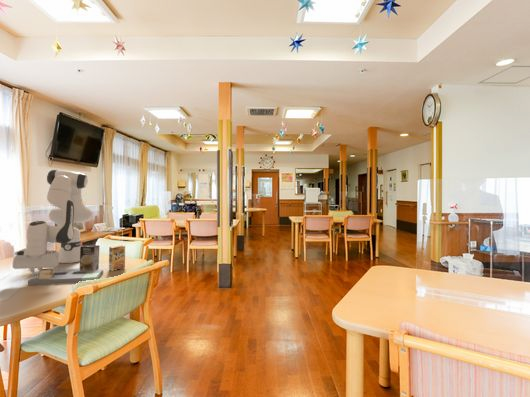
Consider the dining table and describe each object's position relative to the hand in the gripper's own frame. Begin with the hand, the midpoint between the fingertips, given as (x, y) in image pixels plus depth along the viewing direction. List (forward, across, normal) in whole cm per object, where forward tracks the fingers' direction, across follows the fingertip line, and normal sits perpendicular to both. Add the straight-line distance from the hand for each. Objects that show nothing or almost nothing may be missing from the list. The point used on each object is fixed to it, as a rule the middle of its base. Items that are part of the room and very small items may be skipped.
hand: (36, 275), depth 152 cm
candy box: (+4, -36, -21) cm, 42 cm away
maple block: (+1, -5, 0) cm, 5 cm away
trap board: (+4, -14, -4) cm, 15 cm away
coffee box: (+4, -20, -21) cm, 29 cm away
